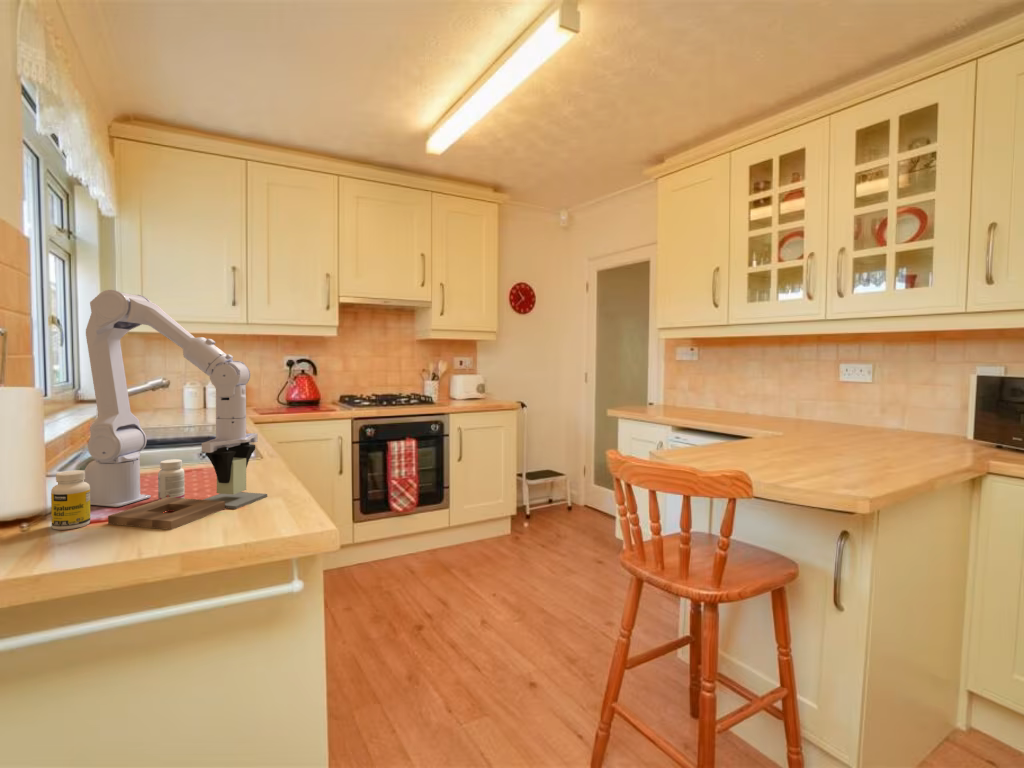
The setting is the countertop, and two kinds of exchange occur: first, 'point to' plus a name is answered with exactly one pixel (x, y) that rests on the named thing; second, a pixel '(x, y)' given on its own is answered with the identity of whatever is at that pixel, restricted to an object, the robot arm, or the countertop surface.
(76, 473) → the supplement bottle
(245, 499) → the charcoal mat
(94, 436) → the robot arm
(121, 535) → the countertop surface
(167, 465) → the pill bottle
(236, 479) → the sage block
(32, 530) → the countertop surface
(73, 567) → the countertop surface
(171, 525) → the walnut holder
